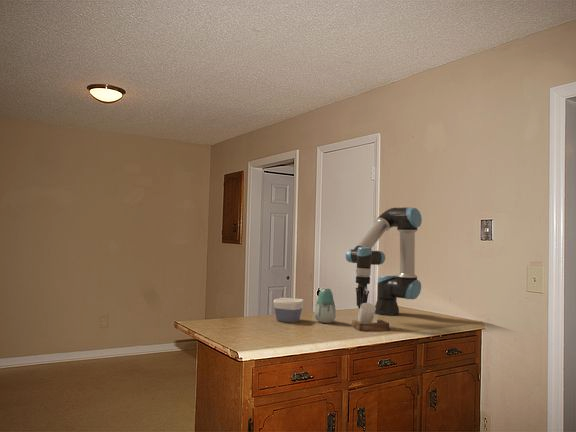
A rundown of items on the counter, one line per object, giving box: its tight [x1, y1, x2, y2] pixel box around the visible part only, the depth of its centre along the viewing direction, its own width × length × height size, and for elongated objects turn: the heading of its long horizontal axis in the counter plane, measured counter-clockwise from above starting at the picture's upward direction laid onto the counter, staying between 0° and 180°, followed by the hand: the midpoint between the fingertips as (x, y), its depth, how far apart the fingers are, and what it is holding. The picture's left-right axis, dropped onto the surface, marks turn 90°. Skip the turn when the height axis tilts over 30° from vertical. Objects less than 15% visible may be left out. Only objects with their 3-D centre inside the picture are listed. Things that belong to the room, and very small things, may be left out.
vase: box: [314, 288, 337, 324], centre depth 263 cm, size 12×12×18 cm
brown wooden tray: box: [351, 319, 390, 332], centre depth 249 cm, size 10×16×4 cm, turn 105°
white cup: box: [359, 302, 376, 323], centre depth 253 cm, size 8×8×10 cm
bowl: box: [272, 297, 305, 323], centre depth 264 cm, size 15×15×11 cm
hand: (360, 320), depth 258 cm, fingers closed
